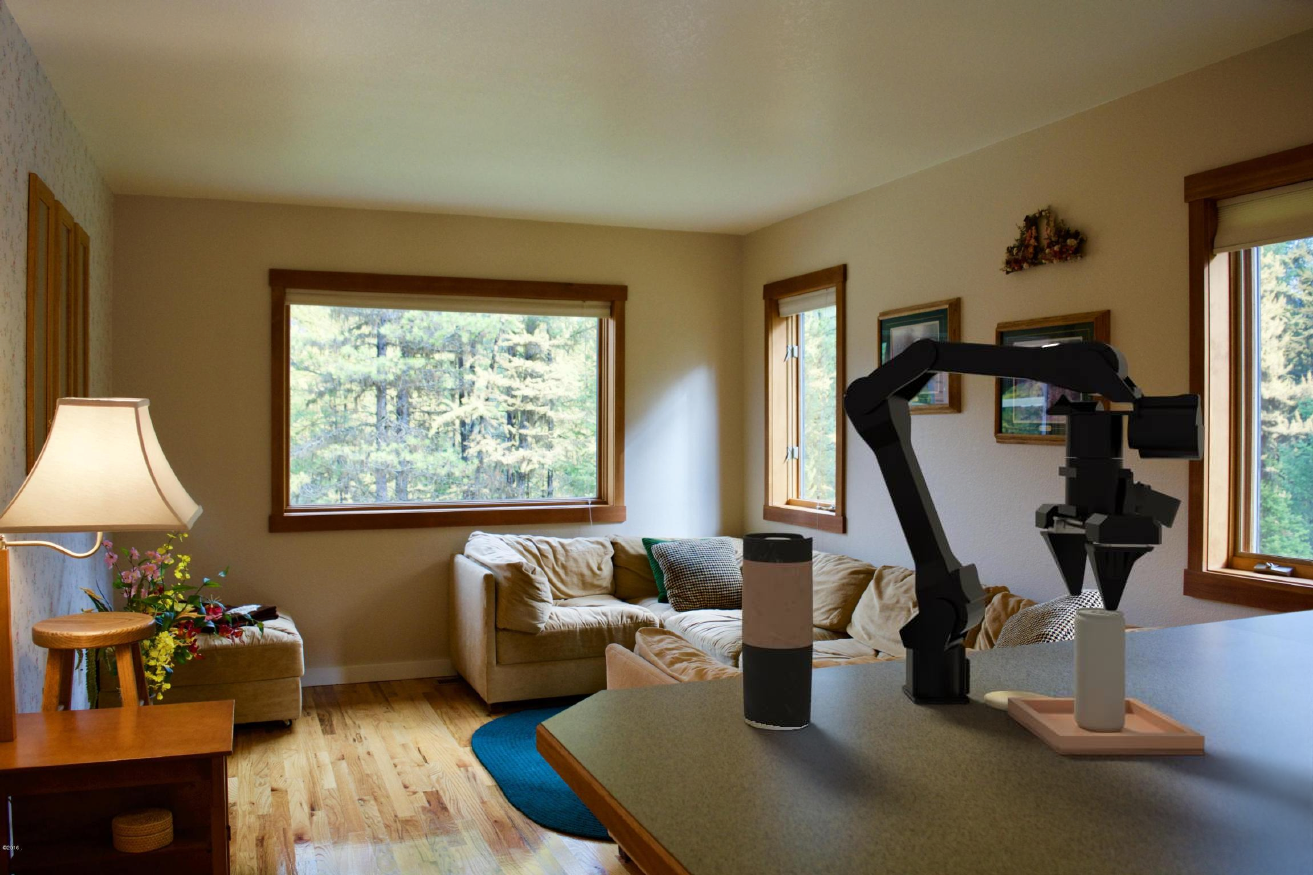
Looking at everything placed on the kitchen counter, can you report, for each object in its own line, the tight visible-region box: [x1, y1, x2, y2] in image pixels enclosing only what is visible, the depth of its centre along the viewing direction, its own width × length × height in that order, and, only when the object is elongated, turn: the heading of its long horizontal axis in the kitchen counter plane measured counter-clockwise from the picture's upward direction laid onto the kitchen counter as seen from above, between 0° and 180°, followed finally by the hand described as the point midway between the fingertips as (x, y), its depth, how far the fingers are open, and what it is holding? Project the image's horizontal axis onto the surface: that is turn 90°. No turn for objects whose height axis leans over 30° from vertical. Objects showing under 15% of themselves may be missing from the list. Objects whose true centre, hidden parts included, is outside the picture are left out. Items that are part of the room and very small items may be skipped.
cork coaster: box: [983, 690, 1052, 712], centre depth 113 cm, size 8×8×1 cm
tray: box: [1007, 697, 1206, 756], centre depth 102 cm, size 14×14×2 cm
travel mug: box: [741, 532, 814, 727], centre depth 106 cm, size 8×8×20 cm
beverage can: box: [1073, 607, 1126, 732], centre depth 102 cm, size 5×5×12 cm
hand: (1092, 602), depth 106 cm, fingers open, 9 cm apart
